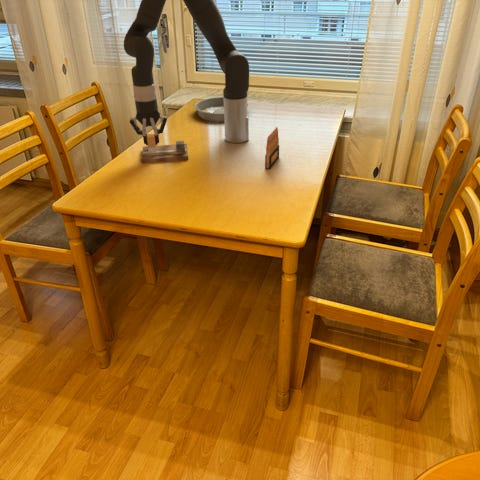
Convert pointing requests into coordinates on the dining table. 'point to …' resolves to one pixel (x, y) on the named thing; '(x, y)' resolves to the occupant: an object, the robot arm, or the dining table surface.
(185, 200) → the dining table surface
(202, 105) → the cake pan
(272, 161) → the ammunition clip
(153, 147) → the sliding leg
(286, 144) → the dining table surface
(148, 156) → the brown slider base
